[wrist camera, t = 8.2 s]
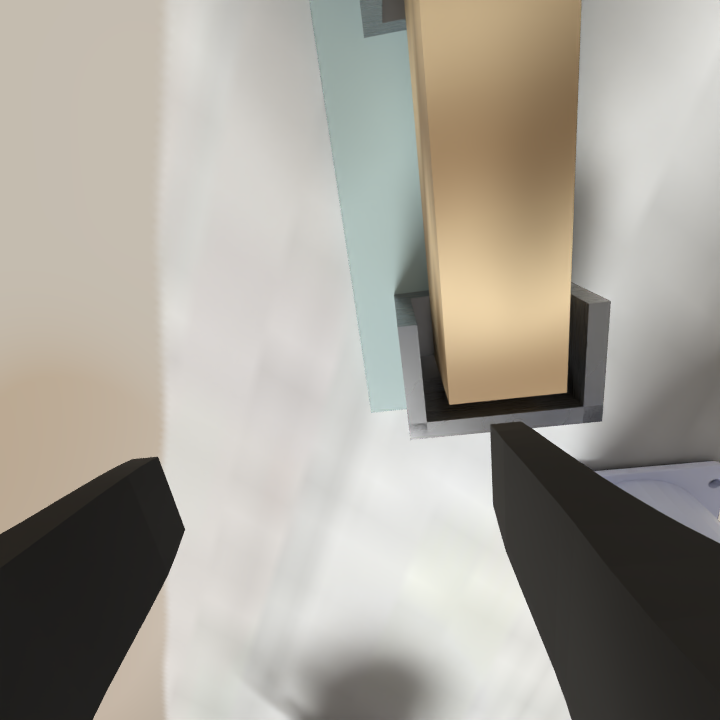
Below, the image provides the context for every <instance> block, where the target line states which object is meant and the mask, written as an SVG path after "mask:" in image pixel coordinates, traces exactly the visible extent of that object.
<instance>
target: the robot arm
mask: <svg viewBox="0 0 720 720" xmlns="http://www.w3.org/2000/svg"><path fill="white" fill-rule="evenodd" d="M490 432H491V459H492V487H493V506H494V510H495V514H496V517H497V521H498V525H499V528H500V532H501V535H502V539H503V542H504V546H505V549H506V552H507V555H508V557H509V560H510V562H511V565H512V567H513V570H514V572H515V575H516V577H517V580H518V582H519V585H520V587H521V590H522V592H523V595H524V597H525V600H526V602H527V604H528V607H529V609H530V612H531V614H532V617H533V619H534V622H535V624H536V626H537V629H538V631H539V634H540V636H541V639H542V641H543V644H544V646H545V648H546V651H547V653H548V656H549V658H550V661H551V663H552V666H553V668H554V670H555V673H556V676H557V679H558V681H559V684H560V687H561V690H562V692H563V695H564V698H565V700H566V703H567V706H568V710H569V713H570V716H571V719H572V720H720V521H719V520H718V516H719V511H720V463H719V462H717V461H708V462H696V463H685V464H673V465H661V466H649V467H638V468H626V469H614V470H602V471H593V470H591V469H590V468H588V467H587V466H585V465H584V464H582V463H581V462H579V461H578V460H576V459H575V458H573V457H572V456H570V455H569V454H567V453H566V452H564V451H563V450H562V449H560V448H559V447H557V446H556V445H554V444H553V443H552V442H550V441H549V440H547V439H546V438H545V437H543V436H542V435H540V434H539V433H538V432H536V431H535V430H533V429H532V428H530V427H529V426H527V425H526V424H524V423H523V422H521V421H519V422H509V423H498V424H490ZM711 480H713V481H712V482H710V481H711ZM709 482H710V483H709ZM184 531H185V528H184V525H183V523H182V520H181V517H180V515H179V512H178V509H177V507H176V504H175V501H174V498H173V496H172V493H171V490H170V488H169V485H168V482H167V480H166V477H165V474H164V472H163V469H162V466H161V464H160V461H159V458H158V457H150V458H140V459H132V460H130V461H128V462H125V463H123V464H121V465H119V466H117V467H115V468H113V469H111V470H109V471H108V472H106V473H104V474H102V475H100V476H99V477H97V478H95V479H93V480H92V481H90V482H88V483H87V484H85V485H83V486H81V487H80V488H78V489H76V490H75V491H73V492H71V493H70V494H68V495H66V496H64V497H63V498H61V499H59V500H58V501H56V502H54V503H53V504H51V505H50V506H48V507H46V508H44V509H43V510H41V511H40V512H38V513H36V514H34V515H33V516H31V517H29V518H28V519H26V520H25V521H23V522H21V523H19V524H17V525H16V526H14V527H12V528H10V529H9V530H7V531H5V532H3V533H2V534H0V720H93V718H94V716H95V713H96V712H97V710H98V708H99V705H100V703H101V701H102V699H103V697H104V695H105V693H106V691H107V689H108V687H109V686H110V684H111V682H112V680H113V678H114V676H115V674H116V672H117V671H118V669H119V667H120V665H121V663H122V661H123V659H124V657H125V656H126V654H127V652H128V650H129V648H130V646H131V644H132V643H133V641H134V639H135V637H136V635H137V633H138V631H139V629H140V628H141V626H142V624H143V622H144V620H145V618H146V616H147V615H148V613H149V611H150V609H151V607H152V605H153V603H154V601H155V599H156V597H157V595H158V593H159V591H160V590H161V588H162V586H163V584H164V582H165V580H166V578H167V576H168V574H169V571H170V569H171V566H172V564H173V561H174V559H175V556H176V554H177V551H178V548H179V545H180V542H181V539H182V537H183V534H184Z"/></svg>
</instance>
